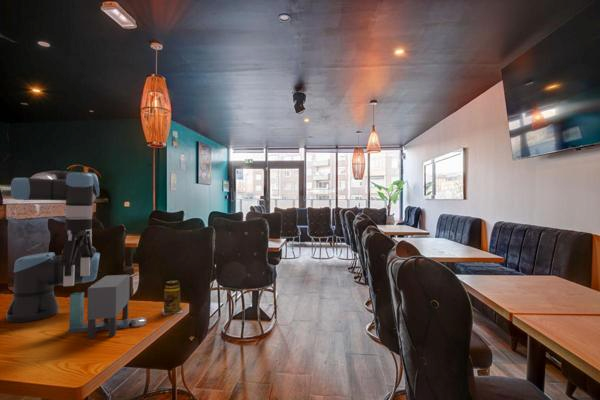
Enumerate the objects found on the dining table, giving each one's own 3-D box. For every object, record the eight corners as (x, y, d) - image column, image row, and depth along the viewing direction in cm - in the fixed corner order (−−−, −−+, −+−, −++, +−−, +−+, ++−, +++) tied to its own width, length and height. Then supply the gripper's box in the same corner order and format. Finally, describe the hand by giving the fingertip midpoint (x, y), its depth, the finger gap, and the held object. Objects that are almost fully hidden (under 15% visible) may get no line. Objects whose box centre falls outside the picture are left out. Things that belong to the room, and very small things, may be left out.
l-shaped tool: (67, 333, 101) (68, 295, 101) (74, 328, 106) (75, 291, 106) (128, 328, 106) (129, 292, 106) (132, 323, 111) (133, 288, 111)
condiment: (162, 315, 118) (163, 284, 118) (161, 308, 126) (162, 279, 126) (182, 312, 121) (183, 282, 121) (180, 306, 129) (181, 278, 129)
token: (132, 323, 111) (132, 318, 111) (147, 321, 112) (147, 316, 112) (128, 328, 106) (128, 323, 106) (144, 326, 107) (144, 321, 107)
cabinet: (104, 318, 114) (105, 275, 114) (128, 316, 116) (129, 274, 117) (86, 339, 97) (87, 288, 97) (115, 336, 99) (116, 286, 99)
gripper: (80, 216, 115) (79, 272, 115) (47, 220, 91) (45, 291, 91) (103, 216, 117) (102, 271, 117) (76, 220, 94) (75, 289, 93)
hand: (77, 280), depth 104 cm, fingers open, 13 cm apart
